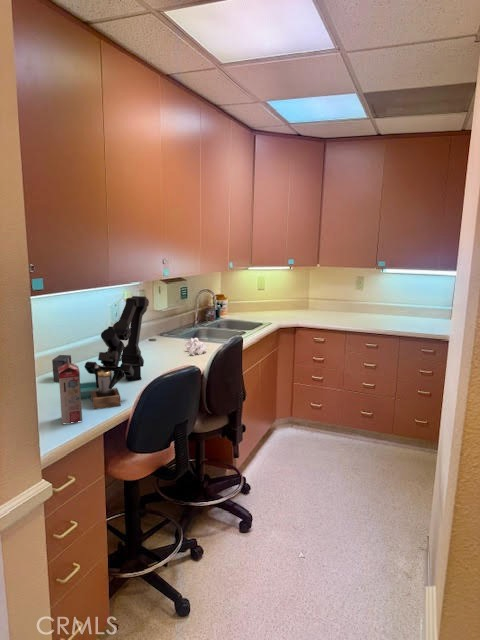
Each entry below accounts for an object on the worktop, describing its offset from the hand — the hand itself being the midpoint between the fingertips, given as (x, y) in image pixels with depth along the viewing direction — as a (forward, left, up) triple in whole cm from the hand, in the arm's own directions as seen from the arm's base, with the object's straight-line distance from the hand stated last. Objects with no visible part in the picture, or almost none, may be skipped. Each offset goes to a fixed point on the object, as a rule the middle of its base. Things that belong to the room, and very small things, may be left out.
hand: (103, 388), depth 168 cm
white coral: (-56, -60, -7) cm, 82 cm away
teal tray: (+6, -14, -7) cm, 17 cm away
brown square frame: (-1, -1, -7) cm, 7 cm away
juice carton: (+12, +11, -7) cm, 18 cm away
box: (+14, -36, -7) cm, 40 cm away
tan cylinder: (-1, -1, -7) cm, 7 cm away
